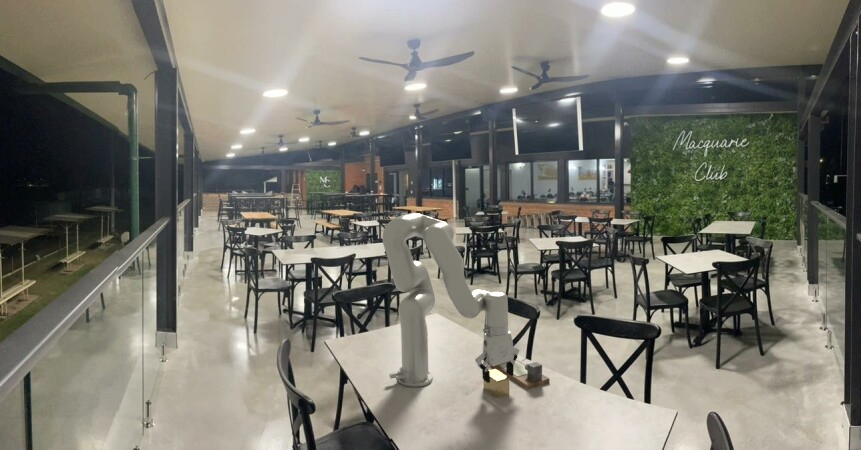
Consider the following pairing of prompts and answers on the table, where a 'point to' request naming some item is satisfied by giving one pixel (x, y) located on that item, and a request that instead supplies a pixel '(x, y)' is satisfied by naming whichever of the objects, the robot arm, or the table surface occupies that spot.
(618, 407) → the table surface
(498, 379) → the gold rectangular block
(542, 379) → the shaft rig
